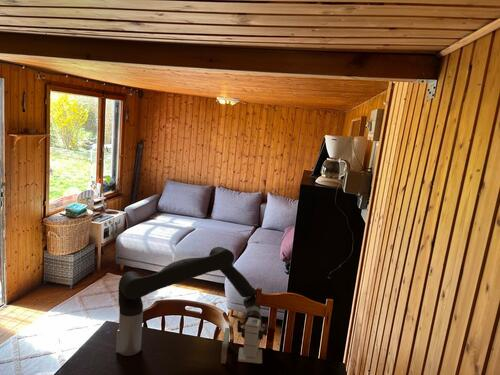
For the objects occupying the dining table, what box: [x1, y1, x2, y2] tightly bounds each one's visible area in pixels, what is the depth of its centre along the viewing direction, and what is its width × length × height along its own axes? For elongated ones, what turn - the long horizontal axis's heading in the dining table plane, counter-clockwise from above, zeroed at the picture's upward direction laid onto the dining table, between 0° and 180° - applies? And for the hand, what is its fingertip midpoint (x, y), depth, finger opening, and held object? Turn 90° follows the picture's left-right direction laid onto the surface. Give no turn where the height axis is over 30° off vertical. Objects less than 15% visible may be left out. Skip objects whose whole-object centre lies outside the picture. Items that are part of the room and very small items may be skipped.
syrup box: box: [242, 317, 262, 358], centre depth 151 cm, size 6×6×14 cm
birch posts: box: [220, 331, 231, 364], centre depth 152 cm, size 2×13×7 cm, turn 178°
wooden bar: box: [221, 327, 231, 349], centre depth 152 cm, size 2×12×2 cm, turn 178°
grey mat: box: [237, 347, 263, 365], centre depth 153 cm, size 10×8×1 cm
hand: (252, 337), depth 149 cm, fingers closed on syrup box, 6 cm apart
